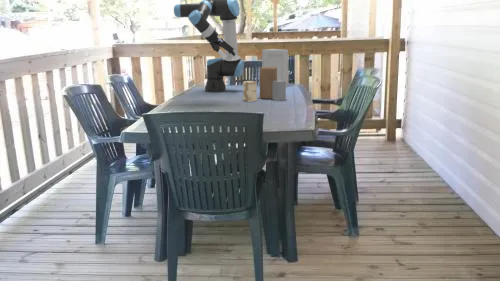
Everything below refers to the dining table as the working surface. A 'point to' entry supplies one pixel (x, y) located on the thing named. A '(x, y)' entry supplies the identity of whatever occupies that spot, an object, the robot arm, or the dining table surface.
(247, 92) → the oak block
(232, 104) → the dining table surface
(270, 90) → the block
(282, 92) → the grey block
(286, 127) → the dining table surface
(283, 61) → the white tall box
